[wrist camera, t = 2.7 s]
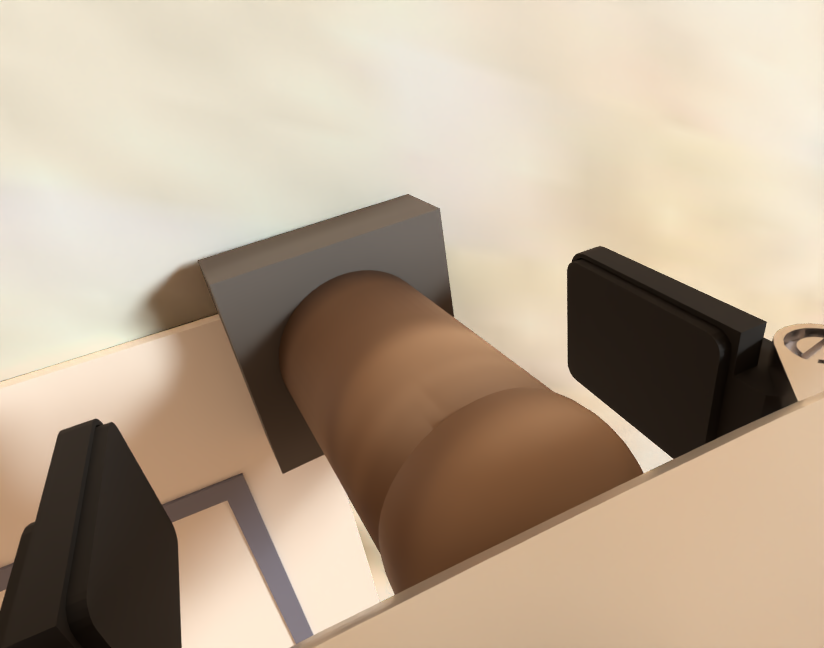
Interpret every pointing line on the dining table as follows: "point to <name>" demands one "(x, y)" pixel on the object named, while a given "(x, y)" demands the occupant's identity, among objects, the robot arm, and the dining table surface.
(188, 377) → the sheet
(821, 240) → the dining table surface
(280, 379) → the stamp
